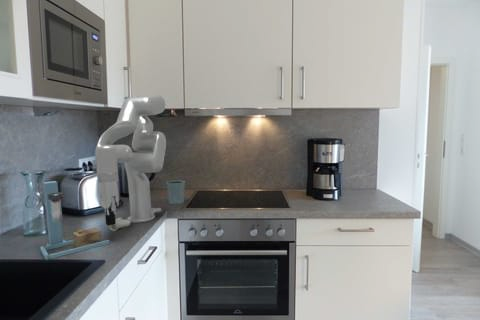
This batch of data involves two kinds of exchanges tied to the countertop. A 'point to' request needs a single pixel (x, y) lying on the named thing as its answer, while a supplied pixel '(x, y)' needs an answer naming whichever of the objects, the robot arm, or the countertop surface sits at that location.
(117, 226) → the pipe fitting
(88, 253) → the countertop surface
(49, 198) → the ram
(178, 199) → the drinking glass
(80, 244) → the housing
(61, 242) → the press
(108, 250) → the countertop surface
